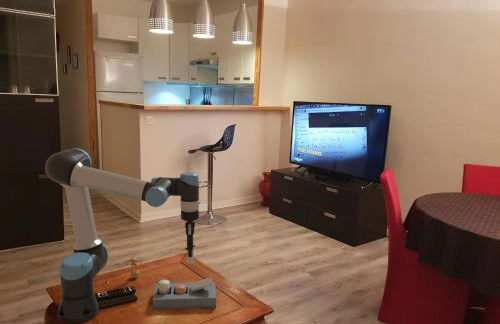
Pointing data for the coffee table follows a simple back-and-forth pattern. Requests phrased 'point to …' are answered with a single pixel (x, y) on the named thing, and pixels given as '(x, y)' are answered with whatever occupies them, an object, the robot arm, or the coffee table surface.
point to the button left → (164, 287)
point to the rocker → (201, 284)
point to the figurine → (135, 273)
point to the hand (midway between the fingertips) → (190, 262)
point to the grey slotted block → (185, 298)
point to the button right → (180, 289)
